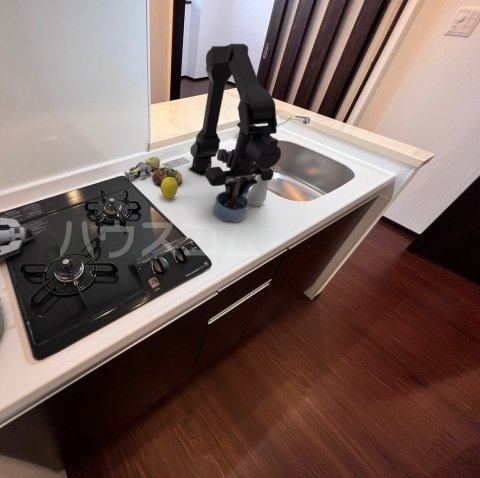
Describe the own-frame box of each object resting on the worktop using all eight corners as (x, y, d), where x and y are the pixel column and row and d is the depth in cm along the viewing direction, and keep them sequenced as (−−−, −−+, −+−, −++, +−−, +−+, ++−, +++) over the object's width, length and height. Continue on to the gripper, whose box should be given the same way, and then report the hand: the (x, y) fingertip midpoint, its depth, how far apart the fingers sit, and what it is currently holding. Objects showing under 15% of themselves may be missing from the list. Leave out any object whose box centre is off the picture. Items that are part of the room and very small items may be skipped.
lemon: (179, 195, 88) (181, 175, 83) (172, 204, 85) (174, 183, 79) (164, 191, 90) (165, 171, 84) (157, 200, 86) (158, 179, 81)
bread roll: (149, 185, 92) (150, 172, 88) (154, 173, 100) (156, 161, 97) (180, 190, 91) (182, 177, 88) (183, 178, 100) (185, 165, 97)
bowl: (207, 212, 82) (209, 199, 79) (224, 200, 88) (227, 187, 84) (233, 227, 78) (237, 214, 74) (250, 213, 83) (255, 200, 79)
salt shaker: (263, 209, 85) (277, 174, 75) (246, 206, 85) (257, 171, 76) (262, 199, 89) (275, 164, 80) (245, 196, 89) (256, 162, 80)
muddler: (226, 211, 80) (234, 183, 73) (222, 204, 83) (229, 177, 76) (237, 210, 81) (246, 182, 74) (232, 203, 83) (240, 176, 76)
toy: (119, 167, 94) (149, 151, 101) (122, 179, 98) (151, 163, 104) (133, 173, 90) (164, 156, 96) (136, 186, 93) (165, 168, 100)
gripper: (262, 135, 76) (247, 181, 87) (202, 139, 72) (195, 187, 83) (283, 152, 68) (264, 200, 79) (217, 158, 64) (207, 207, 75)
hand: (232, 198), depth 79 cm, fingers closed on muddler, 2 cm apart
